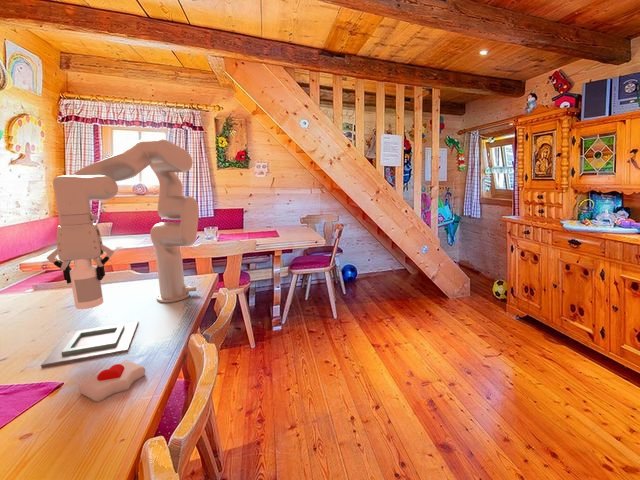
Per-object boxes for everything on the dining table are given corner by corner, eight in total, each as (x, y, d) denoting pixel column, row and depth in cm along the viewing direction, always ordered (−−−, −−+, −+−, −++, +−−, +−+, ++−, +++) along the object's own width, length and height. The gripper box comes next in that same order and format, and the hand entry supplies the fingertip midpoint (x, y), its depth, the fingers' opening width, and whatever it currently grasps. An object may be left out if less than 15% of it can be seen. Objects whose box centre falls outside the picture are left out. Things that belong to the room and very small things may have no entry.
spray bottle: (89, 310, 91) (79, 248, 87) (69, 308, 92) (58, 248, 89) (109, 301, 97) (100, 243, 94) (90, 300, 99) (81, 243, 95)
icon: (98, 390, 69) (74, 377, 74) (101, 408, 70) (77, 394, 74) (150, 361, 80) (126, 352, 84) (152, 377, 80) (128, 367, 85)
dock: (138, 323, 110) (137, 318, 110) (127, 351, 92) (126, 346, 91) (68, 334, 103) (67, 328, 103) (41, 367, 85) (40, 361, 84)
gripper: (114, 217, 97) (122, 273, 100) (43, 220, 90) (54, 280, 94) (108, 220, 90) (117, 280, 93) (31, 223, 83) (43, 288, 87)
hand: (85, 280), depth 93 cm, fingers closed on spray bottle, 6 cm apart
